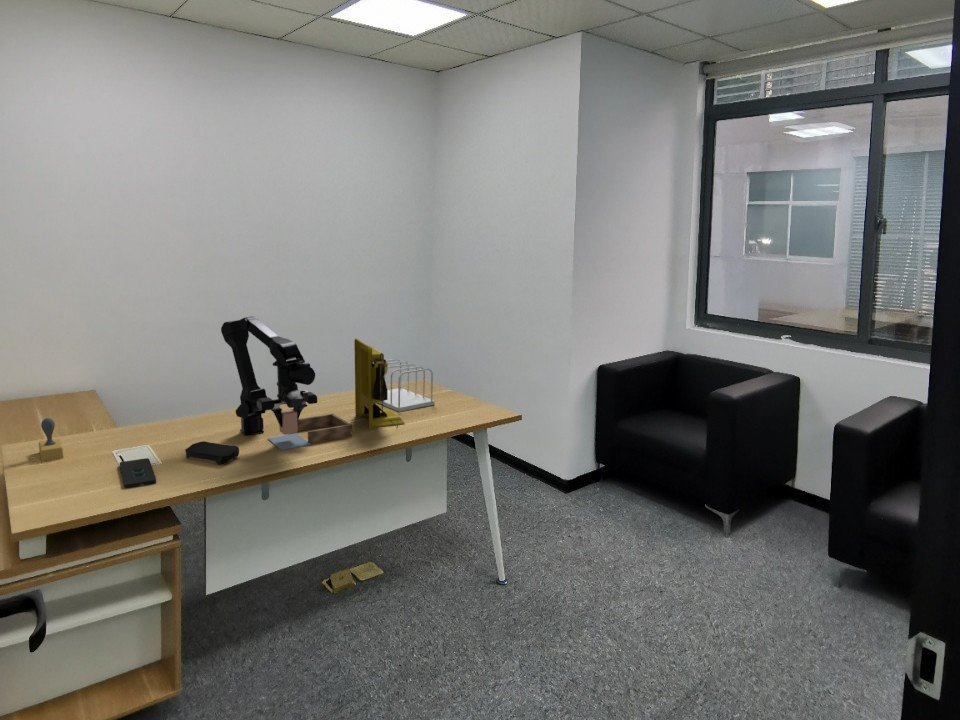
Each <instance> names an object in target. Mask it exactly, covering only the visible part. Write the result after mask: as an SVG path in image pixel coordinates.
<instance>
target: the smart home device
mask: <svg viewBox="0 0 960 720" xmlns="http://www.w3.org/2000/svg"><path fill="white" fill-rule="evenodd" d="M152 465H153V464H152V463H151V461H150V459H149V458H148V457H147V458H138V459H133V460H126V461H125V460H124V461H120V462H119V472H120V475H121V477H122V482H123V487H124V489H132V488H138V487H143V486H149V485H150V486H151V485H155V484H156V483H157V478H156V475H155V472H154V469H153V467H152Z"/></svg>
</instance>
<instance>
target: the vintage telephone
mask: <svg viewBox="0 0 960 720" xmlns="http://www.w3.org/2000/svg"><path fill="white" fill-rule="evenodd" d="M387 363H388V362H386V359H385V354H384V353H382V352H381V351H380V350H378V349H376V348H375V347H373V346H370V345H368V344H367V343H366V342H364V341H363V340H360V339H359V338H354V391H355V392H354V395H355V396H354V399H355V400H354V401H355V402H354V403H355V405H354V406H355V411H354V412H355V417H360V416H361V417H362V416H364V417H368V430H369V429H370V430H373V429H374V428H373V427H375V428H381V427H392V426H395V427H396V429H398V426H399V425H404V424H405V421H404V420H403V419H402V418H401V417H400V416H399V415H397V413H395V412H394V410H392V409H391V408H389V409H383V407H384V405H383V402H384V400H388V391H387V390H388V387H387V382H386V375H387V373H388V371H389V368H388V365H387ZM384 376H385V378H384ZM380 402H382V404H381V407H380V406H378V404H379V403H380ZM391 425H392V426H391ZM372 428H373V429H372Z"/></svg>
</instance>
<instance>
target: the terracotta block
mask: <svg viewBox="0 0 960 720" xmlns="http://www.w3.org/2000/svg"><path fill="white" fill-rule="evenodd" d="M281 415H282V427H280V425H279V424H278V425H279V432H280V433H281V434H282V435H283V436H284V435H290V434H296V433H297V434H298V433H299V432H298V427H297V412H296V411H294V410H293V408H289V409H282V412H281Z"/></svg>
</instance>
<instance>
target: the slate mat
mask: <svg viewBox="0 0 960 720" xmlns="http://www.w3.org/2000/svg"><path fill="white" fill-rule="evenodd" d="M267 440H268V441H269V442H271V444H273V445H274V446H275V447H277V448H278V449H279V450H280V451H284V450H290V449H297V448H301V446H302V447H307V445H308V446H311V445H312V443H309V442H308V440H307V439H305V438H304V437H302V436H301V435H299V434H298V433H292V434H286V435H284V434H283V435H279V436H273V437H267Z"/></svg>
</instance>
